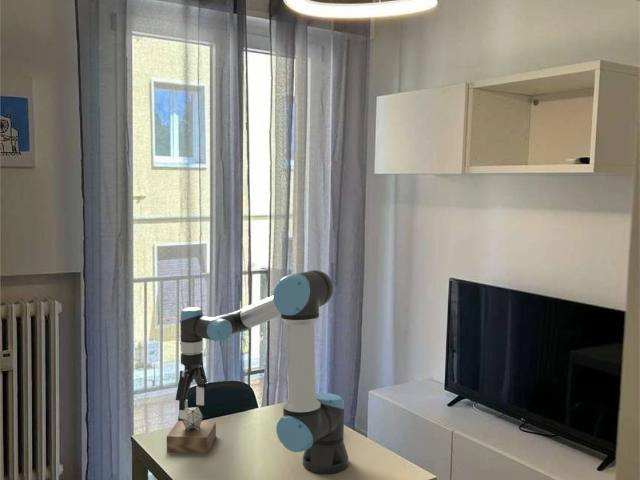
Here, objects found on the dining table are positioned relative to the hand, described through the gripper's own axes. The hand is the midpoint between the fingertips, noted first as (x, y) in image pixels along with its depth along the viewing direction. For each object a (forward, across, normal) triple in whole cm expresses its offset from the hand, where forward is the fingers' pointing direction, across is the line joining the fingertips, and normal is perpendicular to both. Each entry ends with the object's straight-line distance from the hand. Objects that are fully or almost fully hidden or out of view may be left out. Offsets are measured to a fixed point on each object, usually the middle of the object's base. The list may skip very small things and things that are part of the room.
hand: (192, 411), depth 215 cm
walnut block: (+12, 0, 0) cm, 12 cm away
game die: (+6, 0, 0) cm, 6 cm away
